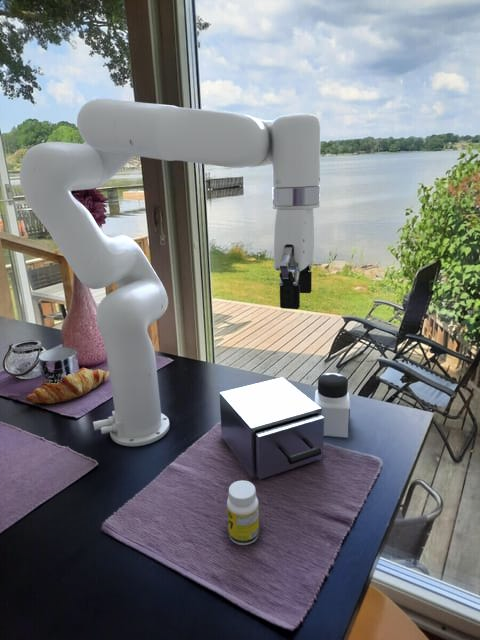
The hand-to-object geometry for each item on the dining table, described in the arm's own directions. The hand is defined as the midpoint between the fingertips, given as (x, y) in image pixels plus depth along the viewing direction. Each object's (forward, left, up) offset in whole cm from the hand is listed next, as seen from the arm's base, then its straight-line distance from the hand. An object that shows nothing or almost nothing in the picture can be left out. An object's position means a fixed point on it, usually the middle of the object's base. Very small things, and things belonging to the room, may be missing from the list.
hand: (296, 300), depth 77 cm
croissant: (-38, +47, -31) cm, 68 cm away
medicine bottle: (+11, +4, -31) cm, 33 cm away
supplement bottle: (-18, -14, -31) cm, 39 cm away
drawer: (-4, -1, -30) cm, 30 cm away
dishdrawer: (-4, +4, -31) cm, 32 cm away
